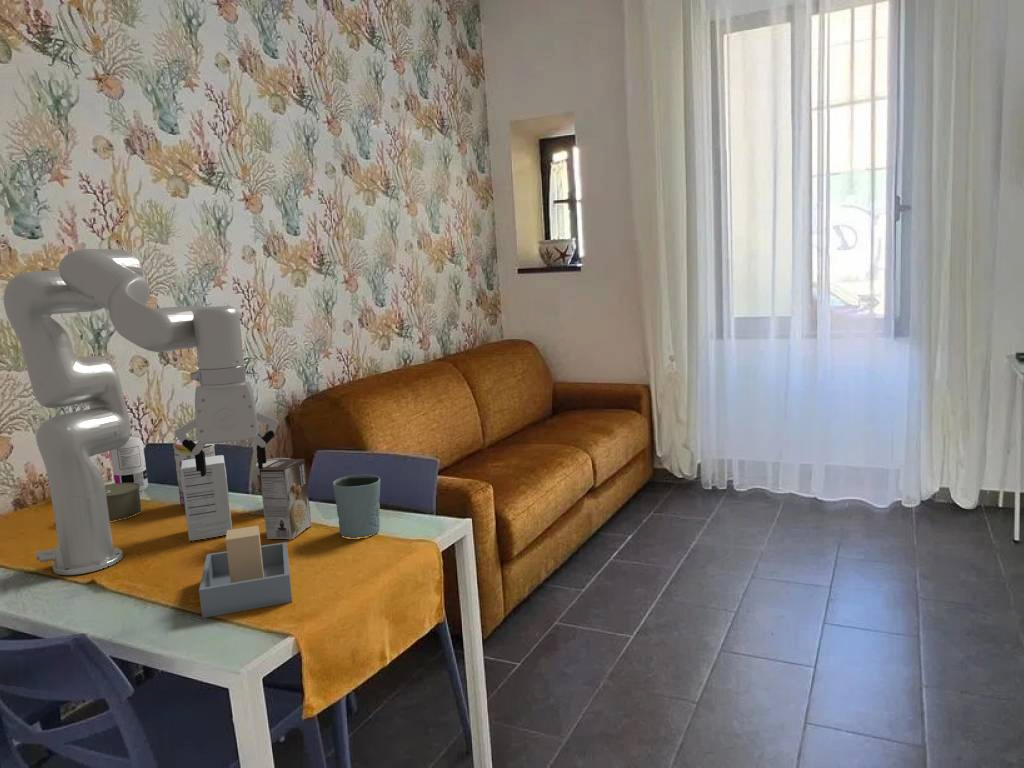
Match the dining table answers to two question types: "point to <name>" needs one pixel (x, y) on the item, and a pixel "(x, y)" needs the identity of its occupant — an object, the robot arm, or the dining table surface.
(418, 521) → the dining table surface
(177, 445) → the candy bar box
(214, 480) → the supplement box
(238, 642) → the dining table surface
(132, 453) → the supplement can
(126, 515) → the can
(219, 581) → the tote
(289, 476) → the coffee box
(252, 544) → the carton
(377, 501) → the teal cup
